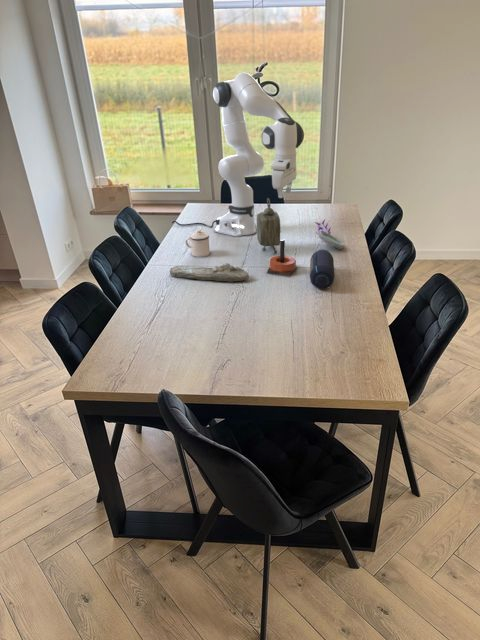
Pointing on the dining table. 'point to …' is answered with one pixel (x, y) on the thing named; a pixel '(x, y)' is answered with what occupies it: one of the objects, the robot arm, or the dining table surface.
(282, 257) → the stand
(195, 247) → the teacup with lid
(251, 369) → the dining table surface
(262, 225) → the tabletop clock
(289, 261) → the ring
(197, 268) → the long grey stone
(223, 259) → the dining table surface
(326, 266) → the portable speaker
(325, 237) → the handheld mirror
